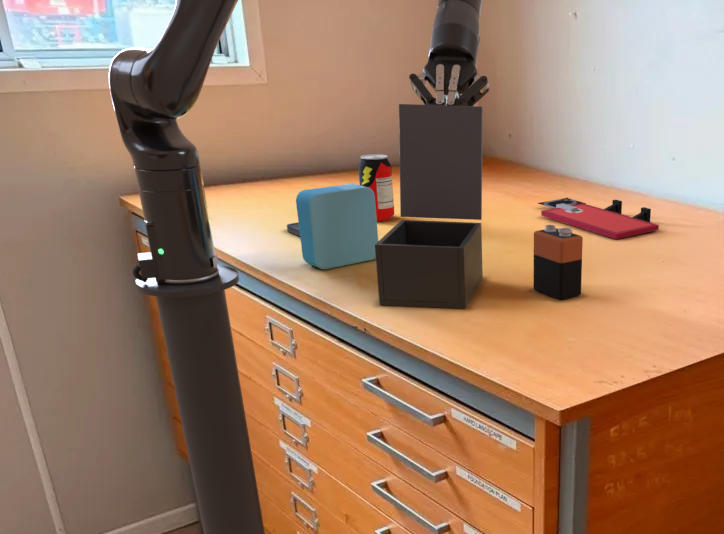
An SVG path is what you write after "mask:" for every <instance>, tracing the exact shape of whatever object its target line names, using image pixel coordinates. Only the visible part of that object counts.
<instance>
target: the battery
mask: <svg viewBox="0 0 724 534" xmlns="http://www.w3.org/2000/svg"><path fill="white" fill-rule="evenodd" d="M583 242H584V239H583V236H582V235H580V234H577V233H574V232H573V229H572V228H571V227H560V228H557V227H556V225H555V224H546V225H545V227H544V229H539V230H535V231H534V232H533V290H534V291H536V292H539V293H542V294H544V295H547V296H549V297H552V298H554V299H557V300H560V301H562V300H566V299H571V298H574V297H579V296H580V295H581V294H582V274H583V271H582V269H583Z"/></svg>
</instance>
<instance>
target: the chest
mask: <svg viewBox="0 0 724 534" xmlns="http://www.w3.org/2000/svg"><path fill="white" fill-rule="evenodd" d="M482 235H483V233H482V222H470V221H469V222H467V221H466V222H465V221H446V220H445V221H444V220H443V221H441V220H417V219H416V220H414V219H400V221H398V222H397V224H396V225H394V226H393V227H392V228H391V229H390V230H389V231H388V232H387V233H385V235H383V236H382V237H381V238H380V239H378V242H377V243H376V244H375V255H376V258H375V264H376V266H375V267H376V279H377V290H378V304H379V306H391V307H416V308H435V309H436V308H437V309H439V308H440V309H459V310H462V309H464V310H465V309H467V307H468V305H469V303H470V302H471V300H472V298H473V297H474V295H475V293H476V291H477V289H478V288H479V286H480V283H481V282H482V280H483V278H484V276H483V275H484V274H483V243H482V242H483V237H482Z"/></svg>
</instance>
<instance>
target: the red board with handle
mask: <svg viewBox="0 0 724 534" xmlns="http://www.w3.org/2000/svg"><path fill="white" fill-rule="evenodd" d="M537 205H541V206H545V207H548V208H550V209H545V210H541V211H540V216H542V217H545V218H548V219H550V220H554V221H557V222H560V223H563V224H567V225H570V226H573V227H576V228H579V229H582V230H586V231H589V232H592V233H594V234H598V235H601V236H604V237H608V238H611V239H613V240H619V239H624V238H628V237H632V236H638V235H642V234H646V233H647V234H648V233H650V232H656V231H659V230H660V225H659V224H656V223H653V222H651V215H652V209H651V208H649V207H645V206H643V207H640V212H638V213H637V214H635V215H634V216H629V215H625V214H622V211H623V201H622V200H619V199H612V204H611V205H608V206H607V207H605V208H601V207H597V206H595V205H590V204H587V203H586V202H583V201H580V200H576V199H572V198H569V197H564V198H558V199H551V200H547V201H540V202H537Z"/></svg>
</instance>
